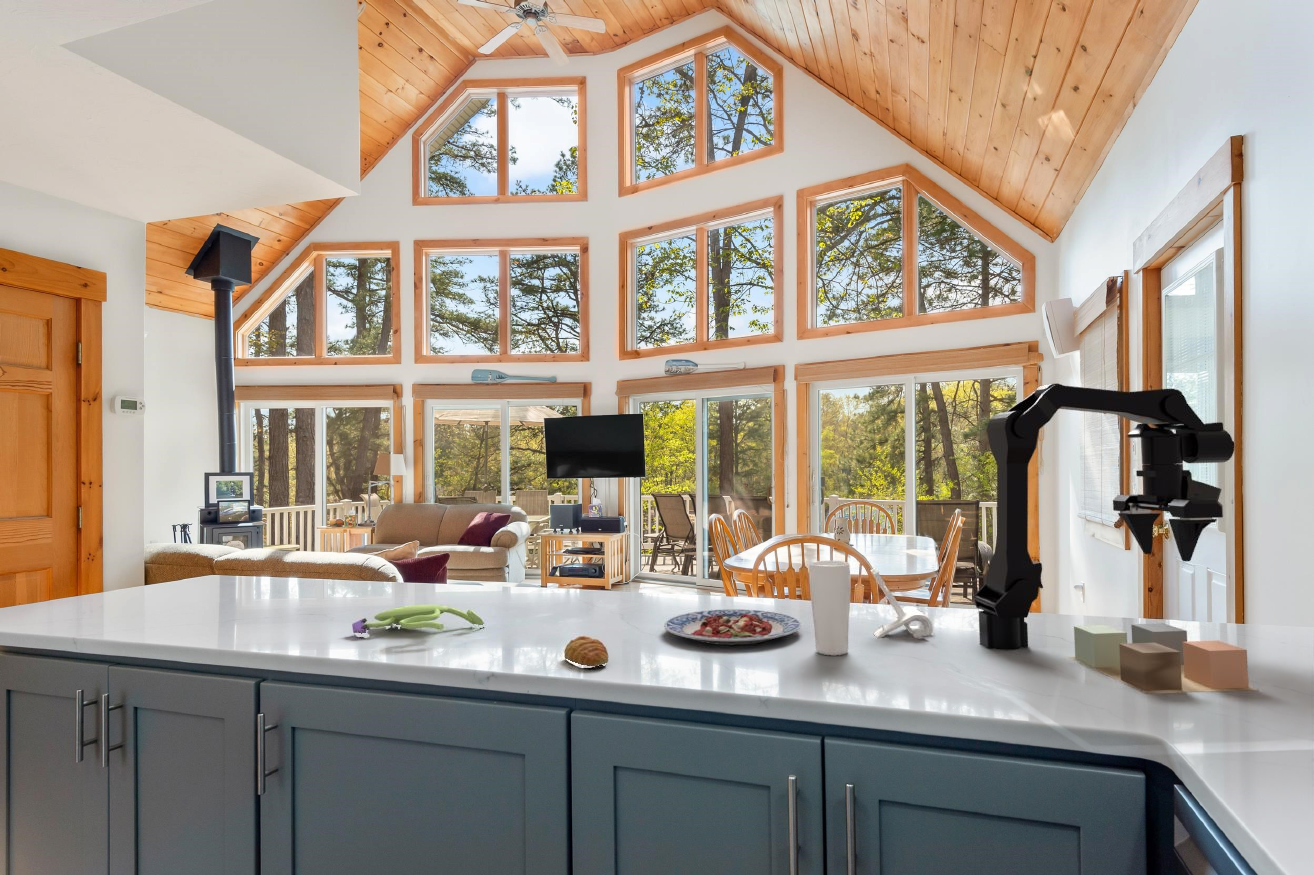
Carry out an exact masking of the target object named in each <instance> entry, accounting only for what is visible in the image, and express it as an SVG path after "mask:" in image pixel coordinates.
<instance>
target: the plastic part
mask: <svg viewBox="0 0 1314 875" xmlns="http://www.w3.org/2000/svg"><path fill="white" fill-rule="evenodd" d="M869 571H870V573H871V575H872V576H873V577H874V580H875V581H876V582H877V583H878V586H879V587H880V589H881V590H882V592H883V593H884V596H885V597H886V598H887V600H888V602H889V603H890V605H891V607H892V608H893V610H894V611H895V613H896V614H897V617H896V618H897V620H895V621H893V622H891V623H888V624H885V625H882V624H881V625H879V626H878V629H877V630H876V631H875V632H874V633H873V635H875V637H876V638H877V639H879V638H880V639H881V638H883V637H885V636H886V635H887V634H889V633H891V632H893V631H896V630H897V629H899V628H901V627H903V626H904V627H905V629H906V630H907V631H908V632H909V633H910V634H911V635H912V634H913V635H912V636H913V637H914V639H925V637H924V636H927V637H928V636H931V635H932V633H933V629H934V626H933V623H932V621H931V619H930V618H929V617H927V615H925V613H923V611H922V610H921V609H920V608H918V607H916V606H905V607H901V604H899V602H898V600H897V599H896V598H895V596H894V594H893V593H892V591H891V590H889V589H888V587H887V586H886V582H885V581H884V579H883V578H882V576H881V575H880V571H879V570H877V571H876V568H875V567H874V568H872V569H870V570H869ZM913 622H918V624H917V625H915V626H913V625H912V626H911V625H910V624H911V623H913Z"/></svg>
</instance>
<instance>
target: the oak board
mask: <svg viewBox="0 0 1314 875" xmlns="http://www.w3.org/2000/svg"><path fill="white" fill-rule="evenodd" d="M1068 658H1070V659H1071V660H1073V661H1075V662H1077V663H1080V664H1082V665H1084V666H1086V667H1088V668H1090V669H1092V670H1095V671H1097V672H1099V673H1101V674H1103V675H1106V677H1107V676H1108V677H1110V678H1112V679H1114V680H1116V681H1118V682H1121V683H1123V684H1125V685H1126V686H1129V687H1131V688H1133V689H1135V690H1138V691H1140V692H1142V693H1143V694H1145V695H1147V694H1148V695H1149V694H1150V695H1151V694H1152V695H1153V694H1173V693H1174V694H1177V693H1179V694H1181V693H1205V692H1206V693H1207V692H1209V693H1212V692H1238V691H1239V692H1240V691H1259V689H1257V688H1255V687H1252V686H1250V685H1249V688H1217V689H1211V688H1209V687H1206V686H1204V685H1201V684H1199V683H1196V682H1194V681H1191V680H1189V679H1186V678H1184V665H1181V679H1182V690H1155V691H1144V690H1142V689H1140V688H1138V687H1135V686H1133V685H1131V684H1129V683H1127V682H1125V681H1123V680H1121V672H1120V667H1102V668H1094V667H1092V666H1090V665H1088V664H1086V663H1084V662H1081V661H1079V660H1077V659H1075V656H1068Z"/></svg>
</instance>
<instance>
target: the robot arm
mask: <svg viewBox="0 0 1314 875" xmlns="http://www.w3.org/2000/svg"><path fill="white" fill-rule="evenodd" d="M1060 409H1061V410H1069V411H1079V412H1086V413H1087V412H1089V413H1099V414H1109V415H1116V416H1119V417H1121V418H1124V419H1126V420H1128V421H1132V422H1136V423H1137V424H1136V427H1135V428H1133V429H1132V430H1131V431H1130V432H1129V433H1127V434H1126V436H1127V438H1128V439H1135V438H1137V439H1139V438H1140V449H1141V469H1139V470H1138V469H1137V470H1136V477H1139V478H1141V477H1142V492H1143V493H1142V494H1117V496H1115V497H1114V498H1113V500H1112V507H1113V508H1112V510H1113V511H1116V512H1117V514H1118V516H1119V517H1121V518H1122V520H1123V521H1124V523H1125V524H1126V526H1127V527H1128V530H1130V532H1131V533H1132V535H1133V537H1134V539H1135V540H1136V542H1137V544H1138V546H1139V547H1140V549H1141V551H1142V553H1143V554H1145V555H1151V554H1152V553H1153V542H1154V526H1155V524H1154V523H1155V522H1156V521H1157V519H1158V518H1159V517H1160V516H1161V512H1168V513H1169V514H1170V515H1171V517H1173V518H1169V519H1168V523H1169V525H1170V528H1171V532H1172V534H1173V538H1174V540H1175V545H1176V548H1177V550H1178V553H1179V556H1180V558H1181V561H1182V562H1190V561H1191V560H1192V557H1193V555H1194V552H1195V550H1196V547H1197V544H1198V542H1199V539H1200V537H1201V534H1202V532H1203V530H1204V529H1205V528H1206V527H1208V526H1209V525H1211V524H1213V523H1214V524H1215V523H1216V522H1217V520H1218V519H1219V518H1224V507H1223V506H1224V505H1223V504H1222V503H1221V502H1220V501H1219V499H1220V496H1221V492H1222V490H1223V489H1222V488H1220V487H1217V486H1214V485H1211V484H1208V483H1205V482H1202V481H1198V480H1194V479H1193V477H1192V476H1193V475H1192V472H1191V470H1190V469H1184V463H1186V464H1213V463H1215V464H1216V463H1217V464H1218V463H1219V464H1220V463H1221V464H1222V463H1226V462H1228V461H1229V460H1230V459H1231V458H1232V457H1233V455H1234V453H1235V442H1234V440H1233V438H1232V436H1231V435H1230V434H1231V433H1229V432H1228V431H1227V430H1225V429H1224V423H1223V422H1219V421H1217V422H1216V421H1215V422H1207V423H1206V422H1205V423H1204V421H1203V420H1202V419H1201V418H1200V417H1199V416H1198V415H1197V413H1196V411H1194V410H1193V408H1192V407H1191V406H1190V404H1188V401H1187V399H1186V397H1185V395H1184V394H1183V392H1182V391H1181V390H1180V389H1176V388H1158V389H1147V390H1137V391H1136V390H1135V391H1124V390H1123V391H1122V390H1112V389H1103V388H1095V387H1094V388H1091V387H1081V386H1071V385H1064V384H1061V383H1051V384H1045V385H1041V386H1039V387H1038V388H1036V390H1034V391H1032V393H1031V394H1030V395H1028V396H1026V397H1025V398H1023V399H1022V400H1021V401H1019V402H1018V403H1015V404H1014V405H1013V406H1011V407H1010V408H1008V409H1007V410H1006V411H1005V412H999V413H996V414H994V415H993V416H992V417H991V419H989V421H988V422H987V425H986V433H987V439H988V445H989V448H990V451H991V454H992V456H993V458H994V461H995V463H996V549H995V552H994V553H993V556H992V558H991V559H990V562H989V565H988V568H987V569H988V570H987V573H986V574H987V575H986V576H987V577H986V582H985V583H984V584H983V585H982V586H981V587H980V588H979V589H978V590H977V592H975V594H973V596H972V599H973V602H974V604H975V608H976V609H979V610H978V628H979V629H978V630H979V631H978V632H979V633H978V634H979V645H981V646H982V647H984V648H986V649H989V650H998V651H1016V650H1020V649H1026V648H1028V647H1029V634H1028V631H1029V630H1028V622H1026V621H1025V619H1026V618H1028V616H1029V613H1030V610H1031V607H1032V605H1033V602H1034V601H1035V600H1037V599H1038V597H1039V592H1040V589H1043V588H1044V586H1043V583H1042V572H1043V564H1042V563H1041V562H1039V561H1036V560H1035V561H1034V560H1032V558H1031V555H1030V553H1029V547H1028V546H1029V464H1030V461H1031V460H1032V458H1033V455H1034V453H1035V451H1036V449H1037V445H1038V441H1039V440H1038V439H1039V434H1040V429H1042V428H1043V427H1044V426H1046V424H1047V423H1049V422H1050V421H1051V419H1053V417H1054V415H1055V414H1056V413H1057V412H1058V410H1060ZM1150 425H1151V426H1153V427H1151V426H1150ZM1173 430H1174V431H1175V433H1174V431H1173ZM1152 511H1157V512H1152ZM1158 511H1159V512H1158Z"/></svg>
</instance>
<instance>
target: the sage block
mask: <svg viewBox="0 0 1314 875" xmlns="http://www.w3.org/2000/svg"><path fill="white" fill-rule="evenodd" d="M1073 636H1074V657H1075V659H1077V660H1079V661H1081V662H1084V663H1086V664H1088V665H1090V666H1092V667H1094V668H1102V667H1120V650H1119V644H1125V643H1128V633H1127V631H1123V630H1120V629H1118V628H1115V627H1112V626H1110V625H1106V624H1103V625H1102V624H1099V625H1097V624H1096V625H1074V626H1073Z"/></svg>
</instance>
